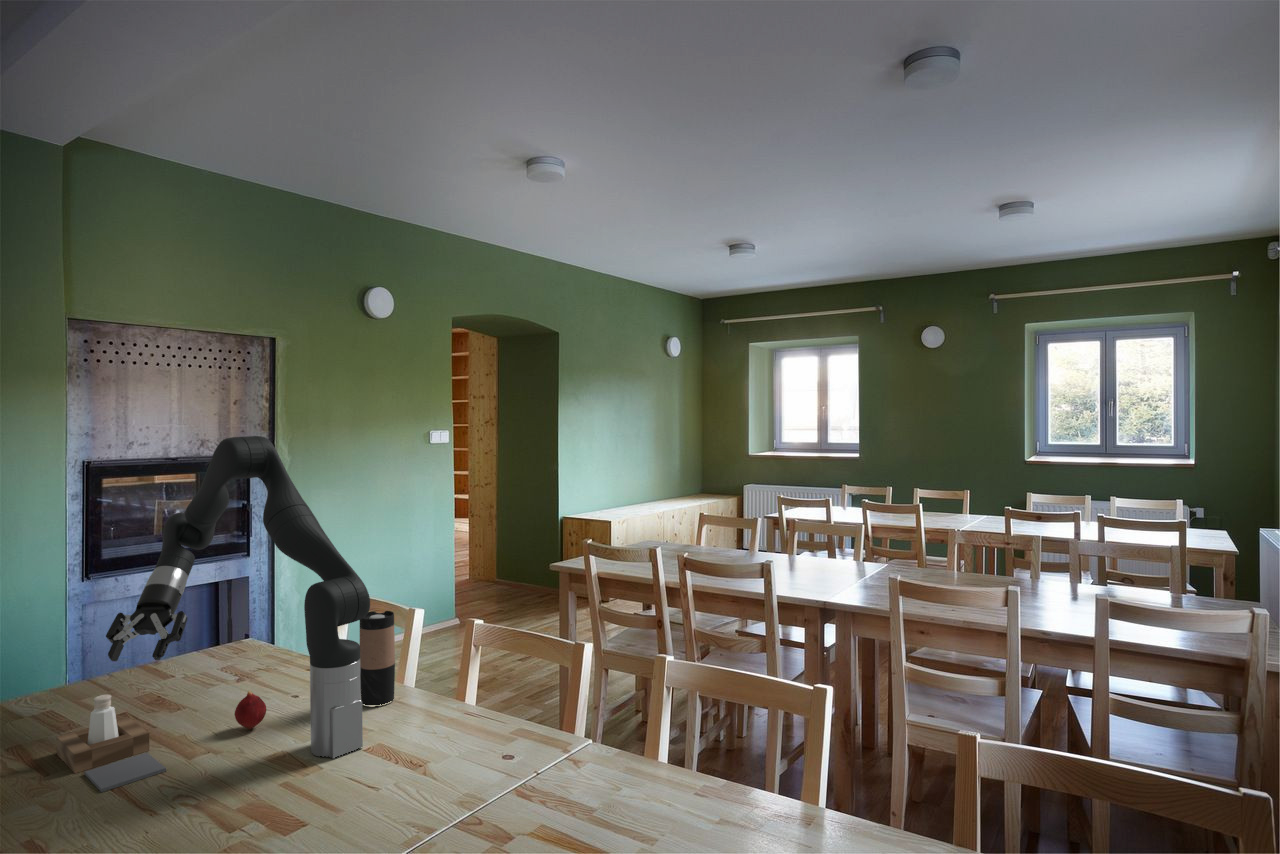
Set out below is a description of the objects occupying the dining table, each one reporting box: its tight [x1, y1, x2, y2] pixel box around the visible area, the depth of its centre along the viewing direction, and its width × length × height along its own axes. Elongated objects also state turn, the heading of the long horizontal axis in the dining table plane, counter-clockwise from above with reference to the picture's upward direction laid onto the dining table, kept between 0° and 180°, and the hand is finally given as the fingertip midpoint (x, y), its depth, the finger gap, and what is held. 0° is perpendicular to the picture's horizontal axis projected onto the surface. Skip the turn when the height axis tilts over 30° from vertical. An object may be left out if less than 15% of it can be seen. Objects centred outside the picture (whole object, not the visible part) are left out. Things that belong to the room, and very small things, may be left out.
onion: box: [234, 690, 267, 730], centre depth 156 cm, size 6×6×8 cm
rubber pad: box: [83, 752, 167, 793], centre depth 137 cm, size 10×10×1 cm
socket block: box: [56, 716, 150, 774], centre depth 145 cm, size 12×12×4 cm
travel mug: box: [359, 610, 396, 705], centre depth 171 cm, size 8×8×20 cm
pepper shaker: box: [87, 694, 119, 745], centre depth 145 cm, size 5×5×11 cm
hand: (134, 659), depth 156 cm, fingers open, 8 cm apart
